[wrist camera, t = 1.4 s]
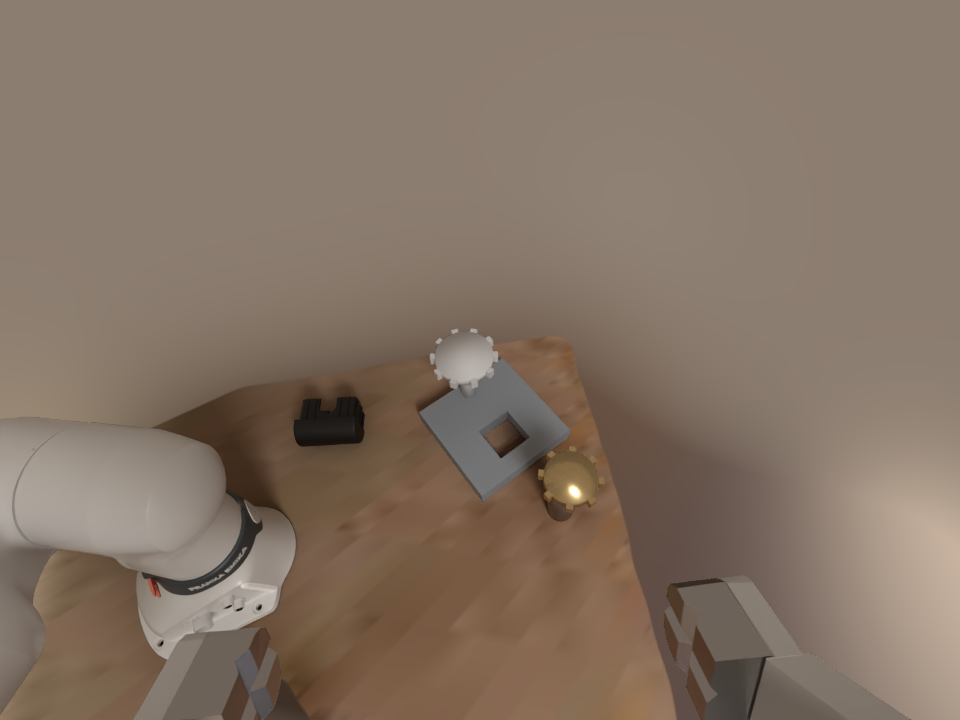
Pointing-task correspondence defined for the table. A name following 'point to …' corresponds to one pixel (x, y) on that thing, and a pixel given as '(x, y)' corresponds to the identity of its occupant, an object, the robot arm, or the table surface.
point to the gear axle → (569, 482)
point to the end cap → (330, 423)
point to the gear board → (487, 413)
